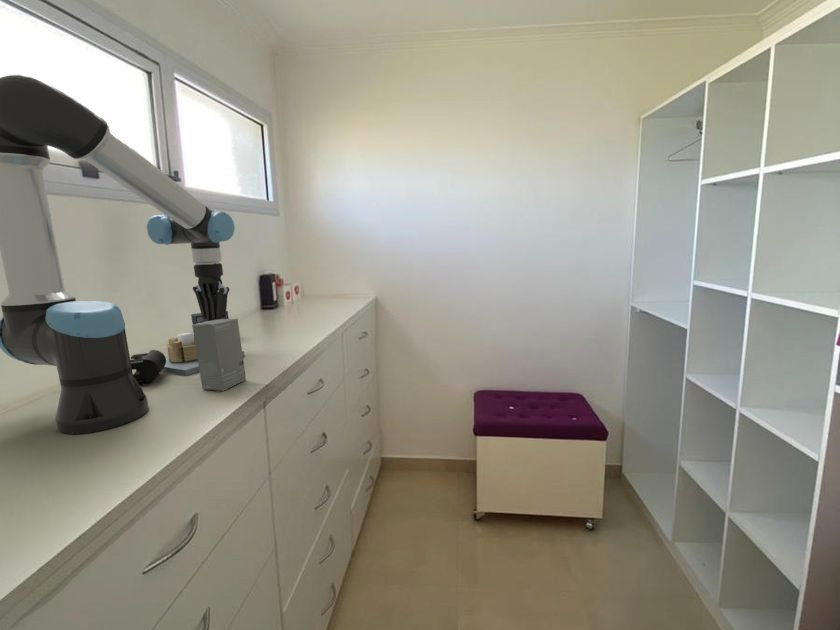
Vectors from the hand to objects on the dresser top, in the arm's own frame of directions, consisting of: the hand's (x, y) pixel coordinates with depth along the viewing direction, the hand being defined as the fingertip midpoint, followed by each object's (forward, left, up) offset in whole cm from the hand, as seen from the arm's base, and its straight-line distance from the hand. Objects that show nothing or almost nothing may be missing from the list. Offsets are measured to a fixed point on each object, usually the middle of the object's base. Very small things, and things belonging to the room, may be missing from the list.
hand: (216, 341), depth 132 cm
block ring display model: (-8, 0, -4) cm, 9 cm away
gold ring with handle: (-6, 0, -3) cm, 6 cm away
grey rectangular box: (-19, -25, -5) cm, 31 cm away
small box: (+12, +17, -5) cm, 21 cm away
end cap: (-23, -2, -5) cm, 23 cm away
